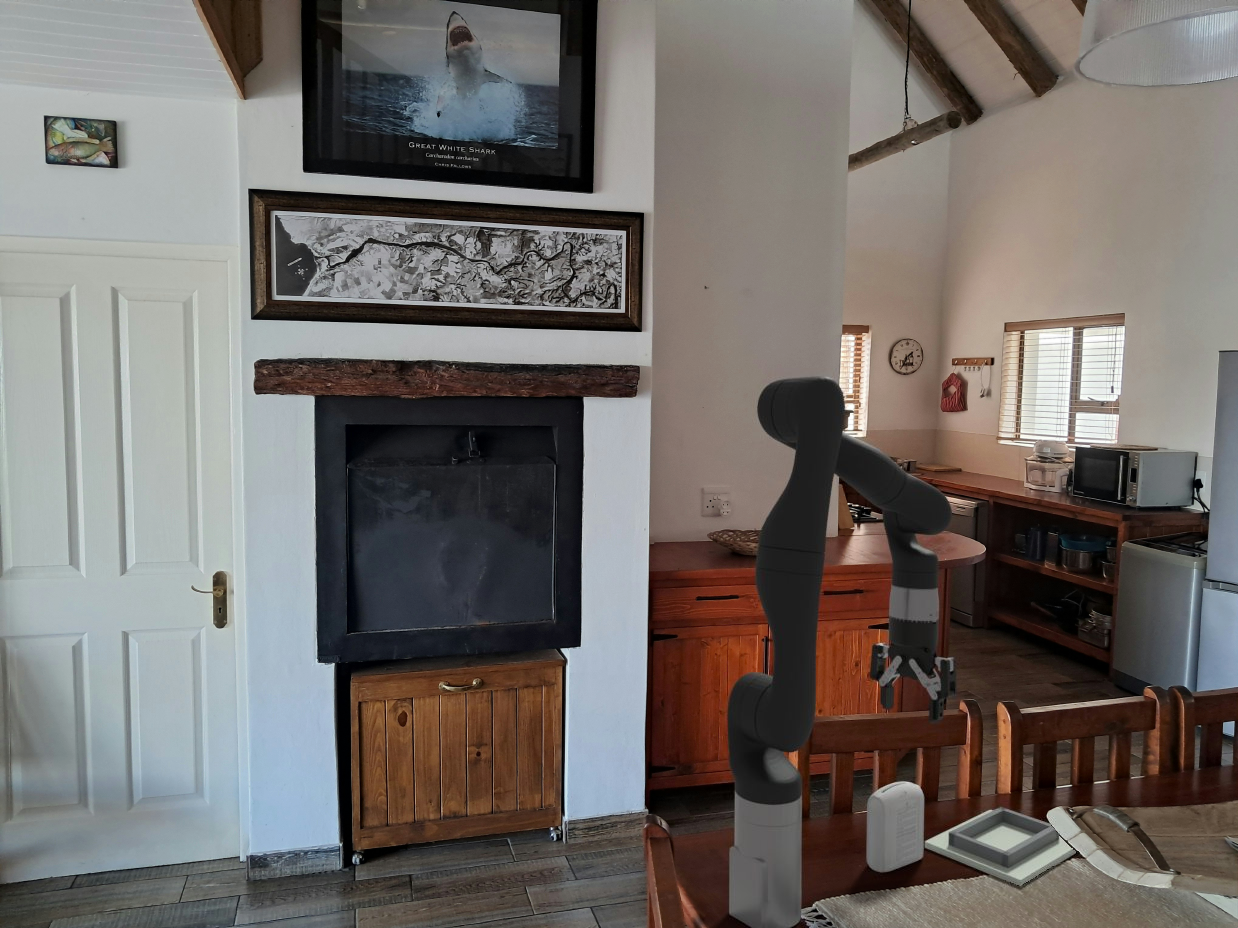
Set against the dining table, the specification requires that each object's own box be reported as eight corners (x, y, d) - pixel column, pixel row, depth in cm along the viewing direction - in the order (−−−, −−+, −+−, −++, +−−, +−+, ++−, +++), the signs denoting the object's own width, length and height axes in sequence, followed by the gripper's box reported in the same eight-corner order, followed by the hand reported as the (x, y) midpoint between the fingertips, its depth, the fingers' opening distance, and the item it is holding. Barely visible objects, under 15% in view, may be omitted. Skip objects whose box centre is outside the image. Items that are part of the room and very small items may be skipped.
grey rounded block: (905, 848, 144) (906, 772, 143) (927, 858, 140) (928, 781, 140) (862, 865, 138) (862, 786, 138) (884, 876, 135) (884, 796, 134)
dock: (1020, 886, 132) (1020, 866, 131) (924, 847, 144) (924, 829, 144) (1083, 847, 144) (1083, 829, 144) (990, 814, 156) (990, 798, 156)
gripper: (862, 609, 145) (859, 708, 146) (940, 624, 134) (937, 731, 134) (889, 605, 150) (886, 701, 150) (967, 619, 139) (964, 722, 139)
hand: (910, 715), depth 142 cm, fingers open, 8 cm apart
